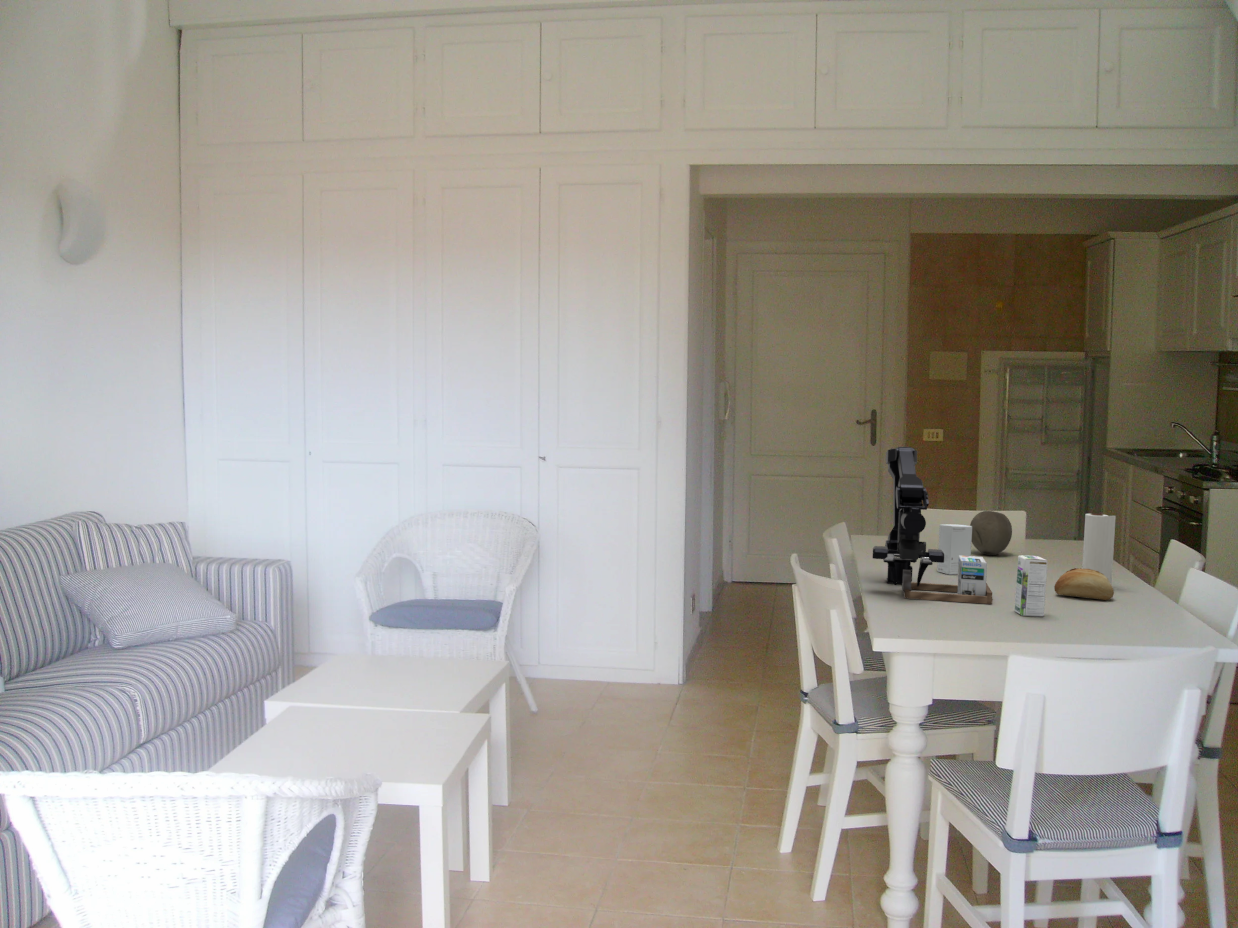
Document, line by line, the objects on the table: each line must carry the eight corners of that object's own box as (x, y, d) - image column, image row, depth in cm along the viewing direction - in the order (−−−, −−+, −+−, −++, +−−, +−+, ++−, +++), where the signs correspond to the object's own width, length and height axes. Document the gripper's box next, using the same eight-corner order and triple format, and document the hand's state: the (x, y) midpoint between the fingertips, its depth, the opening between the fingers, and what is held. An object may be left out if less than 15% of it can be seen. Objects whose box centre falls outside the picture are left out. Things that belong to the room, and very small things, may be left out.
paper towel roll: (1078, 587, 307) (1082, 513, 305) (1085, 584, 311) (1089, 512, 310) (1104, 591, 302) (1108, 516, 301) (1111, 588, 307) (1115, 514, 305)
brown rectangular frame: (903, 598, 284) (904, 576, 284) (901, 587, 299) (902, 567, 299) (991, 604, 279) (993, 582, 279) (985, 593, 294) (986, 572, 294)
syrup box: (1013, 611, 271) (1016, 554, 270) (1037, 612, 271) (1040, 555, 270) (1021, 616, 266) (1024, 558, 265) (1045, 616, 266) (1048, 559, 264)
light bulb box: (985, 602, 282) (988, 562, 281) (959, 600, 283) (961, 560, 283) (981, 595, 292) (983, 556, 291) (956, 593, 294) (958, 554, 293)
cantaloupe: (1017, 558, 358) (1019, 514, 357) (975, 557, 358) (977, 513, 357) (1003, 551, 372) (1005, 509, 371) (962, 550, 372) (964, 508, 371)
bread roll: (1052, 592, 299) (1054, 564, 299) (1110, 596, 295) (1112, 568, 294) (1055, 598, 290) (1056, 569, 290) (1115, 603, 286) (1117, 574, 285)
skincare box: (949, 575, 323) (951, 526, 321) (935, 571, 328) (938, 523, 327) (971, 573, 326) (973, 525, 325) (957, 570, 331) (960, 522, 330)
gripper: (873, 530, 284) (871, 588, 286) (946, 534, 280) (944, 593, 281) (873, 525, 295) (871, 581, 296) (944, 529, 291) (941, 585, 292)
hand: (906, 585), depth 291 cm, fingers open, 6 cm apart
